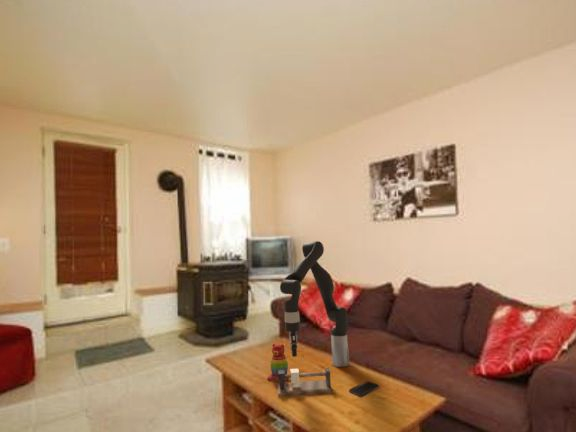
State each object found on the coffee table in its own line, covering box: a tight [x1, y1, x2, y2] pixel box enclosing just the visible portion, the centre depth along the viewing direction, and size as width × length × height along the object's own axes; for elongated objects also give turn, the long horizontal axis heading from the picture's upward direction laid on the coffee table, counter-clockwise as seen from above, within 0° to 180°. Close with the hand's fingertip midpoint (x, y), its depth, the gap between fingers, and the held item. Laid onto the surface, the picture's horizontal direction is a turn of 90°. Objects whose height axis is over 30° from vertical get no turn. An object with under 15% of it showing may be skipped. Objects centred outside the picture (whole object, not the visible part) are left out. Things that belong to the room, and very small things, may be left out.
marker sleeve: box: [289, 368, 301, 383], centre depth 173 cm, size 4×5×5 cm
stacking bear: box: [266, 343, 289, 382], centre depth 188 cm, size 11×10×18 cm
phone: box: [348, 381, 380, 398], centre depth 170 cm, size 8×1×15 cm
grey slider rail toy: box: [277, 367, 333, 398], centre depth 173 cm, size 26×12×9 cm, turn 93°
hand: (293, 353), depth 173 cm, fingers open, 8 cm apart
